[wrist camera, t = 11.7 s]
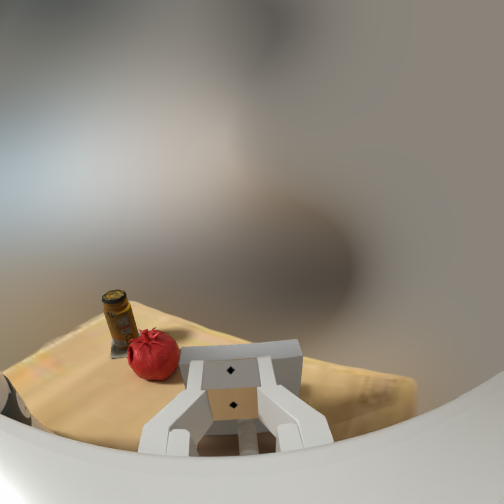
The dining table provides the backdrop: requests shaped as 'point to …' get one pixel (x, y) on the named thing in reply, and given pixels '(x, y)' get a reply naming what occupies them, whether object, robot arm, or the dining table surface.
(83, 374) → the dining table surface
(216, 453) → the pipe rig
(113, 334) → the condiment
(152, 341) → the pomegranate
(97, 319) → the dining table surface
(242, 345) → the grey slab
